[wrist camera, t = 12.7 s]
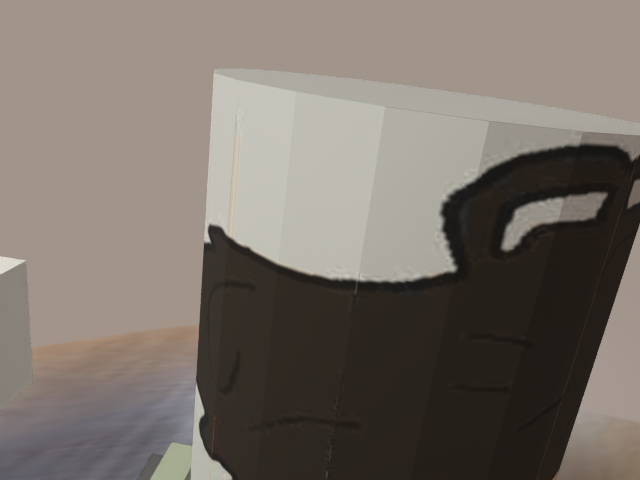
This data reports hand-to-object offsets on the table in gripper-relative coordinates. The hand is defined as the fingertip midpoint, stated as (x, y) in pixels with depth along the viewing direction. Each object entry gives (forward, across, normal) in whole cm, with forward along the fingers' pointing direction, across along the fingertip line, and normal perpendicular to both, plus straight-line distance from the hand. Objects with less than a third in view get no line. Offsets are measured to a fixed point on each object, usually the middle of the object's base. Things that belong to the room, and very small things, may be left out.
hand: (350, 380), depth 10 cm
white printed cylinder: (0, 0, -10) cm, 10 cm away
